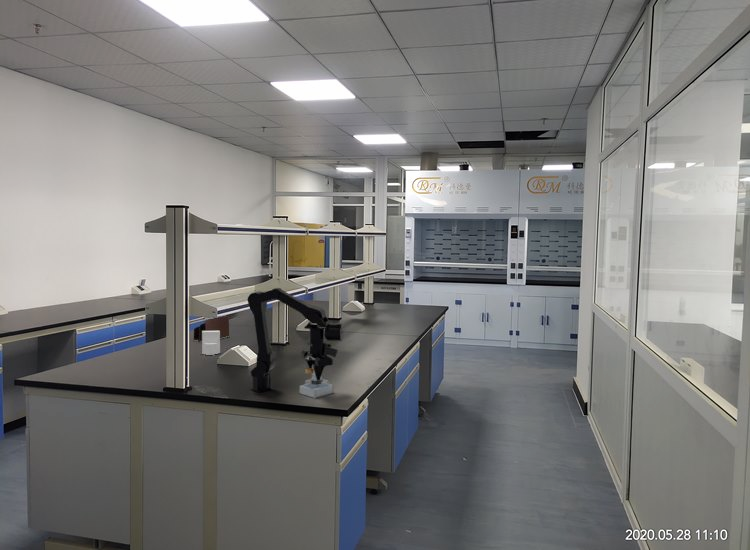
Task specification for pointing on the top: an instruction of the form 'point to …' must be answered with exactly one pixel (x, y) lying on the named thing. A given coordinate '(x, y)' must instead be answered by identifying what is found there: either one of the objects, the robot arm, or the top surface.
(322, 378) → the mount
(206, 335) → the cylinder with rectangular tab
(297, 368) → the top surface
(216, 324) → the letter holder
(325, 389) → the bin
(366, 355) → the top surface
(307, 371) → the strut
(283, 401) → the top surface
